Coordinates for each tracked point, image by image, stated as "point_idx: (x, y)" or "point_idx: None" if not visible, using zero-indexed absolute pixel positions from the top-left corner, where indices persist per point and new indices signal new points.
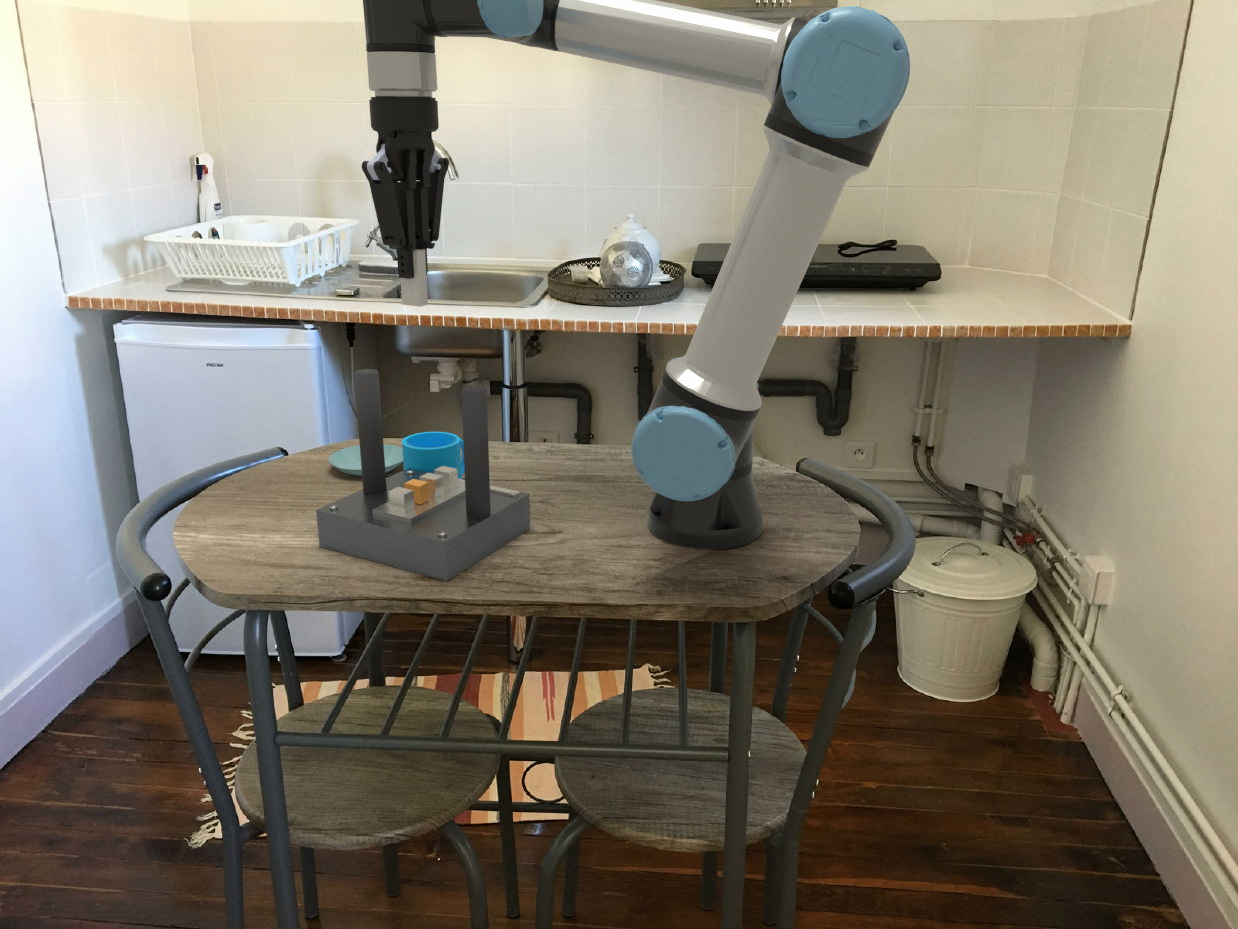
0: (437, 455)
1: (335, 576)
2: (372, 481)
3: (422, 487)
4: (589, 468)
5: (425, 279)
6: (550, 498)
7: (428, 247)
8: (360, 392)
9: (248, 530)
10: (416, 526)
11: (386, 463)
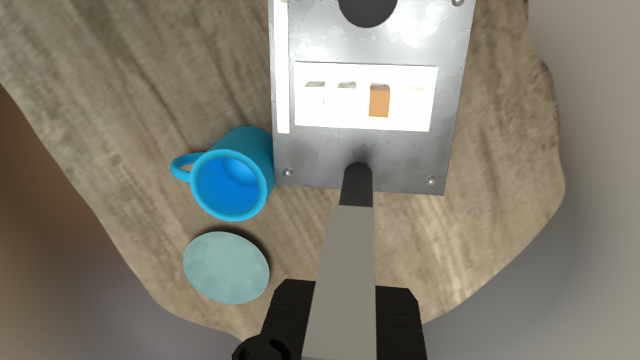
0: (254, 156)
1: (497, 113)
2: (370, 175)
3: (384, 90)
4: (62, 30)
5: (328, 255)
6: (179, 18)
7: (293, 349)
8: None
9: (428, 261)
10: (443, 52)
11: (211, 252)
